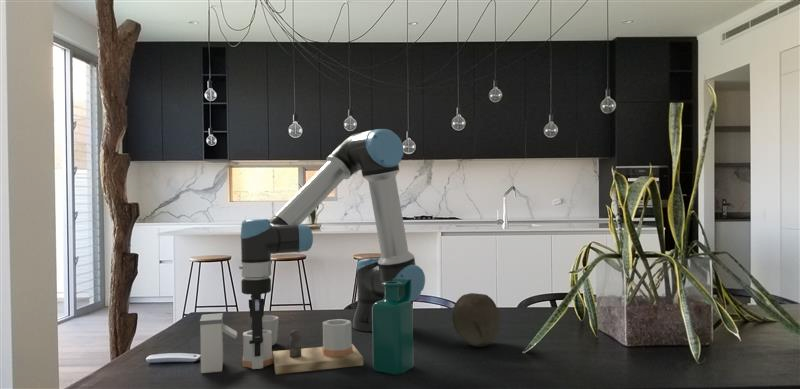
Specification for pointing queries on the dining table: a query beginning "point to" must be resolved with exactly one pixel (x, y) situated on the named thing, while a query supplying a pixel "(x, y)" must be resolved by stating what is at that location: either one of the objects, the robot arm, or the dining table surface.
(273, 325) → the cup
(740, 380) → the dining table surface
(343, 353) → the sleeve seated
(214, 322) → the box
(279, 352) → the pin board
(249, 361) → the sleeve
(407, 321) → the green square bottle
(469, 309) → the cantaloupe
